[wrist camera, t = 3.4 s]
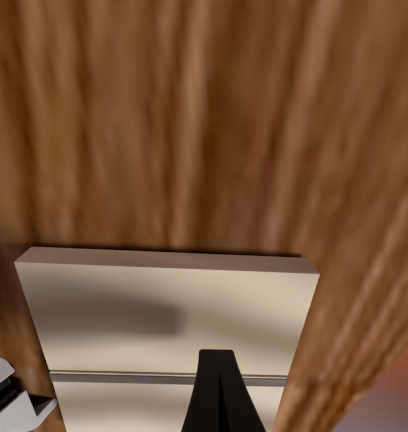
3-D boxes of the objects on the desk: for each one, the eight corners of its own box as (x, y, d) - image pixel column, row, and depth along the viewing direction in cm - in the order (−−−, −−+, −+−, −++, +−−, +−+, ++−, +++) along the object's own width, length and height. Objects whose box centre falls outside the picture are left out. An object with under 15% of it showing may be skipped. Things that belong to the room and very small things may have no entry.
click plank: (281, 355, 15) (287, 375, 14) (60, 349, 14) (48, 369, 13) (308, 258, 12) (319, 274, 11) (31, 246, 11) (13, 262, 10)
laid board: (262, 425, 18) (267, 447, 17) (78, 421, 17) (69, 444, 16) (280, 357, 15) (287, 378, 14) (61, 351, 14) (48, 373, 13)
